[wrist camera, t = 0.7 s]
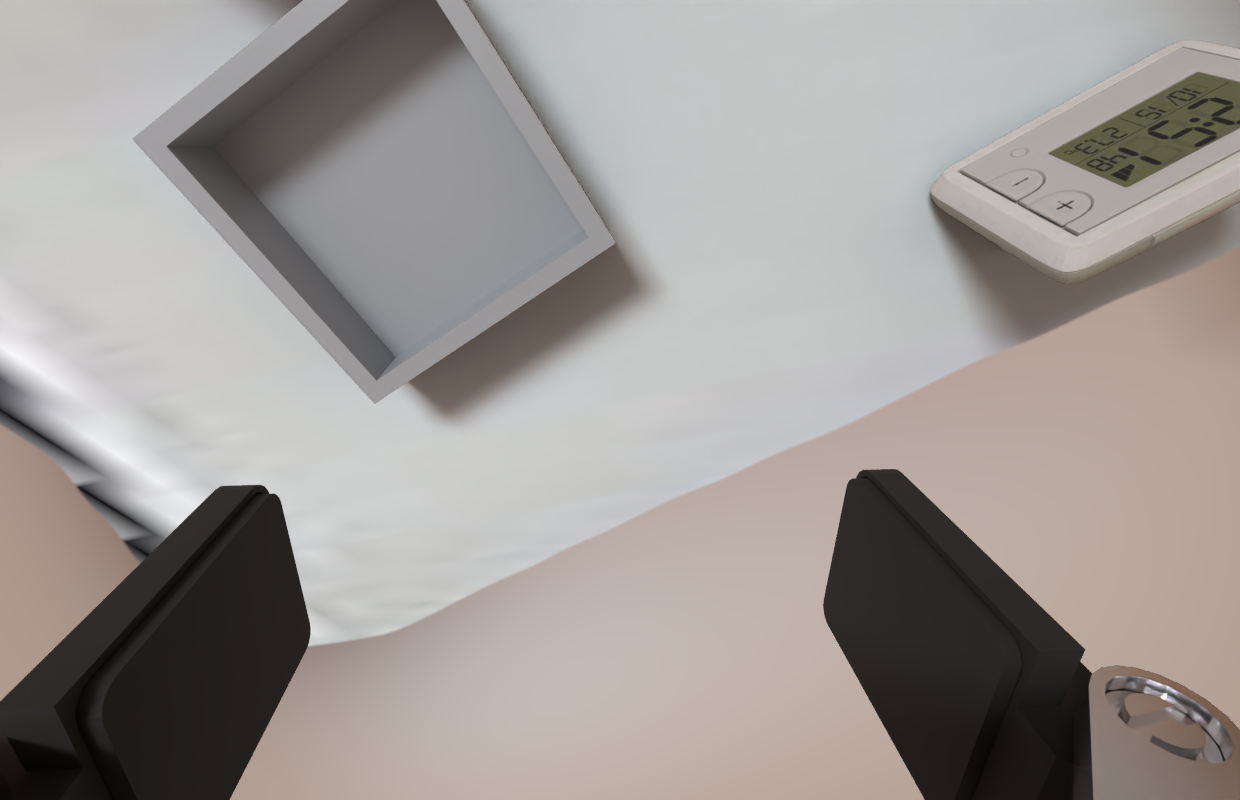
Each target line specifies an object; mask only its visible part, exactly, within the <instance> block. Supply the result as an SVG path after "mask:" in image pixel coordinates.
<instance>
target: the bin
mask: <svg viewBox="0 0 1240 800" xmlns="http://www.w3.org/2000/svg"><path fill="white" fill-rule="evenodd" d="M133 140H134V142H135V143H136V144H137V145H138V146H139V147H140V148H141V149H142V150H143V151H144V152H145V154H146V155H147V156H148V157H149V158H150V159H151V160H152V161H153V162H154V163H155V164H156V166H157V167H158V168H159V169H160V170H161V171H162V172H163V173H164V174H165V175H166V176H167V178H168V179H169V180H170V181H171V182H172V183H173V184H174V185H175V186H176V187H177V188H178V190H179V191H180V192H181V193H182V194H183V195H184V196H185V197H186V198H187V199H188V200H189V202H190V203H191V204H192V205H193V206H194V207H195V208H196V209H197V210H198V211H199V213H200V214H201V215H202V216H203V217H204V218H205V219H206V220H207V221H208V222H209V223H210V225H211V226H212V227H213V228H214V229H215V230H216V231H217V232H218V233H219V234H220V235H221V237H222V238H223V239H224V240H225V241H226V242H227V243H228V244H229V245H230V246H231V247H232V249H233V250H234V251H235V252H236V253H237V254H238V255H239V256H240V257H241V258H242V259H243V261H244V262H245V263H246V264H247V265H248V266H249V267H250V268H251V269H252V270H253V271H254V273H255V274H256V275H257V276H258V277H259V278H260V279H261V280H262V281H263V282H264V283H265V285H266V286H267V287H268V288H269V289H270V290H271V291H272V292H273V293H274V294H275V296H276V297H277V298H278V299H279V300H280V301H281V302H282V303H283V304H284V305H285V306H286V308H287V309H288V310H289V311H290V312H291V313H292V314H293V315H294V316H295V317H296V318H297V320H298V321H299V322H300V323H301V324H302V325H303V326H304V327H305V328H306V329H307V330H308V332H309V333H310V334H311V335H312V336H313V337H314V338H315V339H316V340H317V341H318V342H319V344H320V345H321V346H322V347H323V348H324V349H325V350H326V351H327V352H328V353H329V354H330V356H331V357H332V358H333V359H334V360H335V361H336V362H337V363H338V364H339V365H340V366H341V368H342V369H343V370H344V371H345V372H346V373H347V374H348V375H349V376H350V377H351V378H352V380H353V381H354V382H355V383H356V384H357V385H358V386H359V387H360V388H361V389H362V391H363V392H364V393H365V394H366V395H367V396H368V397H369V398H370V399H371V400H372V401H373V403H374V404H375V403H377V402H378V401H380V400H381V399H383V398H384V397H386V396H387V395H389V394H390V393H392V392H393V391H395V390H396V389H398V388H399V387H401V386H402V385H404V384H405V383H407V382H408V381H410V380H411V379H413V378H414V377H416V376H417V375H419V374H420V373H422V372H423V371H425V370H426V369H428V368H429V367H431V366H432V365H434V364H435V363H437V362H438V361H440V360H441V359H443V358H444V357H446V356H447V355H449V354H450V353H452V352H453V351H455V350H456V349H458V348H459V347H461V346H462V345H464V344H465V343H467V342H468V341H470V340H471V339H473V338H474V337H476V336H477V335H479V334H480V333H482V332H483V331H485V330H486V329H488V328H489V327H491V326H492V325H494V324H495V323H497V322H498V321H500V320H501V319H503V318H504V317H506V316H507V315H509V314H510V313H512V312H513V311H515V310H516V309H518V308H519V307H521V306H522V305H524V304H525V303H527V302H528V301H530V300H531V299H533V298H534V297H536V296H537V295H539V294H540V293H542V292H543V291H545V290H546V289H548V288H549V287H551V286H552V285H554V284H555V283H557V282H558V281H560V280H561V279H563V278H564V277H566V276H567V275H569V274H570V273H572V272H573V271H575V270H576V269H578V268H579V267H581V266H582V265H584V264H585V263H587V262H588V261H590V260H591V259H593V258H594V257H596V256H597V255H599V254H600V253H602V252H603V251H605V250H606V249H608V248H609V247H611V246H612V245H614V244H615V241H614V239H613V237H612V236H611V234H610V232H609V230H608V228H607V227H606V225H605V224H604V222H603V220H602V219H601V217H600V216H599V214H598V212H597V211H596V209H595V208H594V206H593V204H592V203H591V201H590V200H589V198H588V197H587V195H586V193H585V192H584V190H583V189H582V187H581V185H580V184H579V182H578V181H577V179H576V177H575V176H574V174H573V173H572V171H571V169H570V168H569V166H568V165H567V163H566V161H565V160H564V158H563V157H562V155H561V153H560V152H559V150H558V149H557V147H556V145H555V144H554V142H553V141H552V139H551V137H550V136H549V134H548V133H547V131H546V129H545V128H544V126H543V125H542V123H541V121H540V120H539V118H538V117H537V115H536V113H535V112H534V110H533V109H532V107H531V105H530V104H529V102H528V101H527V99H526V97H525V96H524V94H523V93H522V91H521V89H520V88H519V86H518V85H517V83H516V81H515V80H514V78H513V77H512V75H511V73H510V72H509V70H508V69H507V67H506V65H505V64H504V62H503V61H502V59H501V57H500V56H499V54H498V53H497V51H496V49H495V48H494V46H493V45H492V43H491V41H490V40H489V38H488V37H487V35H486V34H485V32H484V30H483V29H482V27H481V26H480V24H479V22H478V21H477V19H476V18H475V16H474V14H473V13H472V11H471V10H470V8H469V6H468V5H467V3H466V2H465V0H303V1H302V2H300V3H299V4H298V5H297V6H295V7H294V8H293V9H292V10H290V11H289V12H288V13H287V14H285V15H284V16H283V17H282V18H281V19H279V20H278V21H277V22H276V23H274V24H273V25H272V26H271V27H269V28H268V29H267V30H266V31H265V32H263V33H262V34H261V35H260V36H258V37H257V38H256V39H255V40H253V41H252V42H251V43H250V44H249V45H247V46H246V47H245V48H244V49H242V50H241V51H240V52H239V53H237V54H236V55H235V56H234V57H233V58H231V59H230V60H229V61H228V62H226V63H225V64H224V65H223V66H221V67H220V68H219V69H218V70H217V71H215V72H214V73H213V74H212V75H210V76H209V77H208V78H207V79H205V80H204V81H203V82H202V83H201V84H199V85H198V86H197V87H196V88H194V89H193V90H192V91H191V92H189V93H188V94H187V95H186V96H184V97H183V98H182V99H181V100H180V101H178V102H177V103H176V104H175V105H173V106H172V107H171V108H170V109H168V110H167V111H166V112H165V113H164V114H162V115H161V116H160V117H159V118H157V119H156V120H155V121H154V122H152V123H151V124H150V125H149V126H148V127H146V128H145V129H144V130H143V131H141V132H140V133H139V134H138V135H136V136H135V137H134V138H133Z"/></svg>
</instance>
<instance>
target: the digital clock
mask: <svg viewBox="0 0 1240 800" xmlns="http://www.w3.org/2000/svg"><path fill="white" fill-rule="evenodd" d="M930 192H931V197H932V199H933V201H934V202H935V204H936V205H937V206H938V207H940V208H941V209H942V210H944V211H945V212H946V213H948V214H949V215H951V216H952V217H954V218H956V219H957V220H959V221H960V222H962V223H964V224H965V225H967V226H968V227H970V228H971V229H973V230H975V231H976V232H978V233H979V234H981V235H983V236H984V237H986V238H987V239H989V240H990V241H992V242H994V243H995V244H997V245H998V246H1000V249H1001V250H1002V251H1005V252H1009V253H1011V254H1013V255H1014V256H1016V257H1017V258H1019V259H1021V260H1022V261H1024V262H1025V263H1027V264H1028V265H1030V266H1032V267H1033V268H1035V269H1036V270H1038V271H1040V272H1041V273H1043V274H1045V275H1047V276H1048V277H1050V278H1052V279H1054V280H1056V281H1059V282H1061V283H1065V284H1075V283H1079V282H1082V281H1085V280H1087V279H1089V278H1092V277H1094V276H1096V275H1098V274H1100V273H1102V272H1104V271H1106V270H1108V269H1110V268H1112V267H1114V266H1116V265H1118V264H1120V263H1122V262H1124V261H1126V260H1128V259H1130V258H1132V257H1134V256H1136V255H1138V254H1140V253H1142V252H1144V251H1146V250H1147V249H1149V248H1151V247H1153V246H1155V245H1157V244H1159V243H1161V242H1163V241H1165V240H1167V239H1169V238H1171V237H1173V236H1175V235H1177V234H1179V233H1181V232H1183V231H1185V230H1186V229H1188V228H1190V227H1192V226H1194V225H1196V224H1198V223H1200V222H1202V221H1204V220H1206V219H1208V218H1210V217H1212V216H1214V215H1216V214H1218V213H1220V212H1222V211H1223V210H1225V209H1227V208H1229V207H1231V206H1233V205H1235V204H1237V203H1239V202H1240V49H1238V48H1234V47H1229V46H1224V45H1219V44H1214V43H1209V42H1204V41H1197V40H1185V41H1180V42H1176V43H1174V44H1171V45H1169V46H1167V47H1165V48H1163V49H1161V50H1159V51H1158V52H1156V53H1154V54H1152V55H1150V56H1148V57H1146V58H1144V59H1143V60H1141V61H1139V62H1137V63H1135V64H1133V65H1132V66H1130V67H1128V68H1126V69H1124V70H1123V71H1121V72H1119V73H1117V74H1115V75H1114V76H1112V77H1110V78H1108V79H1106V80H1104V81H1103V82H1101V83H1099V84H1097V85H1095V86H1094V87H1092V88H1090V89H1088V90H1086V91H1085V92H1083V93H1081V94H1079V95H1077V96H1076V97H1074V98H1072V99H1070V100H1068V101H1067V102H1065V103H1063V104H1061V105H1059V106H1057V107H1056V108H1054V109H1052V110H1050V111H1048V112H1047V113H1045V114H1043V115H1041V116H1039V117H1038V118H1036V119H1034V120H1032V121H1030V122H1029V123H1027V124H1025V125H1023V126H1021V127H1020V128H1018V129H1016V130H1014V131H1012V132H1010V133H1009V134H1007V135H1005V136H1003V137H1001V138H1000V139H998V140H996V141H994V142H992V143H991V144H989V145H987V146H985V147H983V148H982V149H980V150H978V151H976V152H974V153H973V154H971V155H969V156H967V157H966V158H964V159H962V160H960V161H959V162H957V163H955V164H954V165H952V166H950V167H949V168H948V169H946V170H945V171H944V172H943V173H942V175H941V176H940V177H939V178H938V179H937V180H936V182H935V183H934V184H933V185H932V187H931V188H930Z"/></svg>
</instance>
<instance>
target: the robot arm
mask: <svg viewBox="0 0 1240 800" xmlns="http://www.w3.org/2000/svg"><path fill="white" fill-rule="evenodd" d="M823 606H824V615H825V618H826V621H827V624H828V626H829V627H830V629H831V631H832V633H833V635H834V636H835V638H836V640H837V642H838V644H839V646H840V647H841V649H842V651H843V653H844V654H845V656H846V658H847V660H848V662H849V664H850V665H851V667H852V669H853V671H854V673H855V674H856V676H857V678H858V680H859V682H860V683H861V685H862V687H863V689H864V690H865V692H866V694H867V696H868V698H869V700H870V702H871V703H872V705H873V707H874V708H875V711H876V712H877V714H878V716H879V718H880V719H881V721H882V723H883V725H884V727H885V728H886V730H887V732H888V734H889V736H890V737H891V739H892V741H893V743H894V745H895V746H896V748H897V750H898V752H899V754H900V756H901V758H902V759H903V761H904V763H905V765H906V767H907V768H908V770H909V772H910V774H911V776H912V777H913V779H914V781H915V783H916V785H917V786H918V788H919V790H920V792H921V793H922V795H923V797H924V799H925V800H1240V730H1239V729H1238V727H1237V726H1236V725H1235V724H1234V723H1233V722H1232V721H1231V720H1230V719H1229V718H1228V716H1226V715H1225V714H1224V713H1222V712H1221V711H1220V710H1218V708H1216V707H1215V706H1214V705H1212V704H1211V703H1210V702H1209V701H1207V700H1206V699H1204V698H1203V697H1201V696H1199V695H1198V694H1196V693H1195V692H1193V691H1191V690H1189V689H1188V688H1186V687H1185V686H1183V685H1181V684H1179V683H1176V682H1174V681H1172V680H1170V679H1167V678H1165V677H1163V676H1161V675H1158V674H1155V673H1151V672H1149V671H1145V670H1142V669H1138V668H1134V667H1125V666H1110V667H1102V668H1100V669H1099V670H1097V671H1096V672H1095V673H1093V674H1092V673H1091V672H1090V671H1089V670H1088V669H1087V668H1086V667H1085V666H1084V665H1083V664H1082V663H1081V662H1080V660H1081V658H1082V656H1083V653H1084V651H1085V649H1084V648H1083V647H1082V646H1081V645H1080V644H1079V643H1078V642H1077V641H1076V640H1075V639H1074V638H1073V637H1072V636H1071V635H1070V634H1069V633H1067V632H1066V631H1065V630H1064V629H1063V628H1062V627H1061V626H1060V625H1059V624H1058V623H1057V622H1056V621H1055V620H1054V619H1053V618H1052V617H1051V616H1050V615H1049V614H1048V613H1047V612H1046V611H1045V610H1044V609H1043V608H1042V607H1040V606H1039V605H1038V604H1037V603H1036V602H1035V601H1034V600H1033V599H1032V598H1031V597H1030V596H1029V595H1028V594H1027V593H1026V592H1025V591H1024V590H1023V589H1022V588H1021V587H1019V585H1018V584H1017V583H1015V582H1014V581H1013V580H1012V579H1011V578H1010V577H1009V576H1008V575H1007V574H1006V573H1005V572H1004V571H1003V570H1002V569H1001V568H1000V567H999V566H998V565H997V564H996V563H995V562H994V561H993V560H991V558H990V557H988V555H986V554H985V553H984V552H983V551H982V550H981V549H980V548H979V547H978V546H977V545H976V544H975V543H974V542H973V541H972V540H971V539H970V538H969V537H968V536H967V535H966V534H965V533H964V532H963V531H962V530H961V529H959V528H958V527H957V526H956V525H955V524H954V523H953V522H952V521H951V520H950V519H949V518H948V517H947V516H946V515H945V514H944V513H943V512H942V511H941V510H940V509H939V508H938V507H937V506H936V505H935V504H934V503H932V502H931V501H930V500H929V499H928V498H927V497H926V496H925V495H924V494H923V493H922V492H921V491H920V490H919V489H918V488H917V487H916V486H915V485H914V484H913V483H912V482H911V481H910V480H909V479H907V477H905V476H904V475H903V474H902V473H901V472H900V471H898V470H896V469H882V470H862V471H861V472H859V474H858V475H857V478H856V479H851V480H850V481H849V482H848V485H847V488H846V493H845V498H844V503H843V508H842V513H841V518H840V523H839V528H838V533H837V537H836V542H835V547H834V553H833V557H832V562H831V567H830V572H829V577H828V582H827V587H826V593H825V597H824V604H823ZM309 639H310V622H309V618H308V614H307V610H306V606H305V601H304V597H303V593H302V589H301V585H300V580H299V576H298V572H297V568H296V564H295V559H294V555H293V551H292V547H291V543H290V538H289V534H288V530H287V526H286V522H285V517H284V513H283V509H282V505H281V501H280V499H279V497H278V496H277V495H275V494H269V492H268V490H267V489H266V488H265V487H264V486H262V485H242V486H221V487H219V488H218V489H216V490H215V491H214V492H213V493H212V494H211V495H210V496H209V497H208V498H207V499H206V500H205V501H204V502H203V503H202V504H201V505H200V506H199V507H198V508H197V509H196V510H195V511H194V512H192V513H191V514H190V515H189V516H188V517H187V518H186V519H185V520H184V521H183V522H182V523H181V524H180V525H179V526H178V527H177V528H176V529H175V530H174V531H173V532H172V533H171V534H170V535H169V536H168V537H167V538H166V539H165V540H164V541H163V542H162V543H161V544H160V545H159V546H158V547H157V548H156V549H155V550H154V551H153V552H152V553H151V554H150V555H149V556H148V557H147V558H146V559H145V560H144V561H143V562H142V563H141V564H140V565H139V566H138V567H137V568H136V569H135V570H134V571H133V572H132V573H130V575H128V576H127V577H126V578H125V579H124V580H123V581H122V582H121V583H120V584H119V585H118V586H117V587H116V588H115V589H114V590H113V591H112V592H111V593H110V594H109V595H108V596H107V597H106V598H105V599H104V600H103V601H102V602H101V603H100V604H99V605H98V606H97V607H96V608H95V609H94V610H93V611H92V612H91V613H90V614H89V615H88V616H87V617H86V618H85V619H84V620H83V621H82V622H81V623H80V624H79V625H78V626H77V627H76V628H75V629H74V630H73V631H72V632H71V633H69V635H67V636H66V638H64V639H63V640H62V641H61V642H60V643H59V644H58V646H56V647H55V648H54V649H53V650H52V651H51V652H50V653H49V654H48V655H47V656H46V657H45V658H44V659H43V660H42V661H41V662H40V663H39V664H38V665H37V666H36V667H35V668H34V669H33V670H32V671H31V672H30V673H29V674H28V675H27V676H26V677H25V678H24V679H23V680H22V681H21V682H20V683H19V684H18V685H17V686H16V687H15V688H14V689H13V690H12V691H11V692H9V694H7V696H6V697H4V698H3V700H2V701H0V800H230V798H231V796H232V794H233V792H234V790H235V788H236V786H237V784H238V782H239V780H240V778H241V776H242V774H243V772H244V770H245V768H246V766H247V764H248V762H249V760H250V759H251V757H252V755H253V752H254V750H255V749H256V747H257V745H258V743H259V741H260V739H261V737H262V735H263V733H264V731H265V729H266V727H267V725H268V723H269V722H270V720H271V718H272V716H273V714H274V712H275V710H276V708H277V706H278V704H279V702H280V700H281V698H282V696H283V694H284V692H285V690H286V688H287V686H288V684H289V682H290V681H291V679H292V677H293V675H294V673H295V671H296V669H297V667H298V665H299V663H300V661H301V659H302V657H303V655H304V653H305V651H306V649H307V647H308V643H309Z"/></svg>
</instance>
